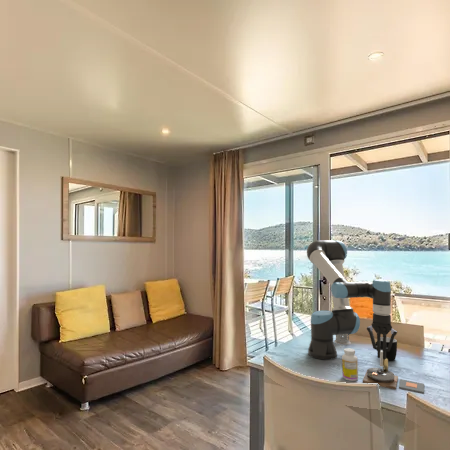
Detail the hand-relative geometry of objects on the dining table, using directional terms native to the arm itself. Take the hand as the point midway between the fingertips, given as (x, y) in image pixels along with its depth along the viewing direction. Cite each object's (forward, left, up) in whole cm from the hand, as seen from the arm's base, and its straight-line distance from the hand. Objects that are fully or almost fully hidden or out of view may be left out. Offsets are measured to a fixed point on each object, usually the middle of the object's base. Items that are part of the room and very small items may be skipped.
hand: (381, 365), depth 147 cm
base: (0, -4, -5) cm, 6 cm away
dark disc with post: (0, -4, -4) cm, 5 cm away
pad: (+12, -4, -5) cm, 13 cm away
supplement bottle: (-12, -9, -6) cm, 16 cm away
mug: (-1, +28, -6) cm, 29 cm away
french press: (-26, +45, -6) cm, 53 cm away
